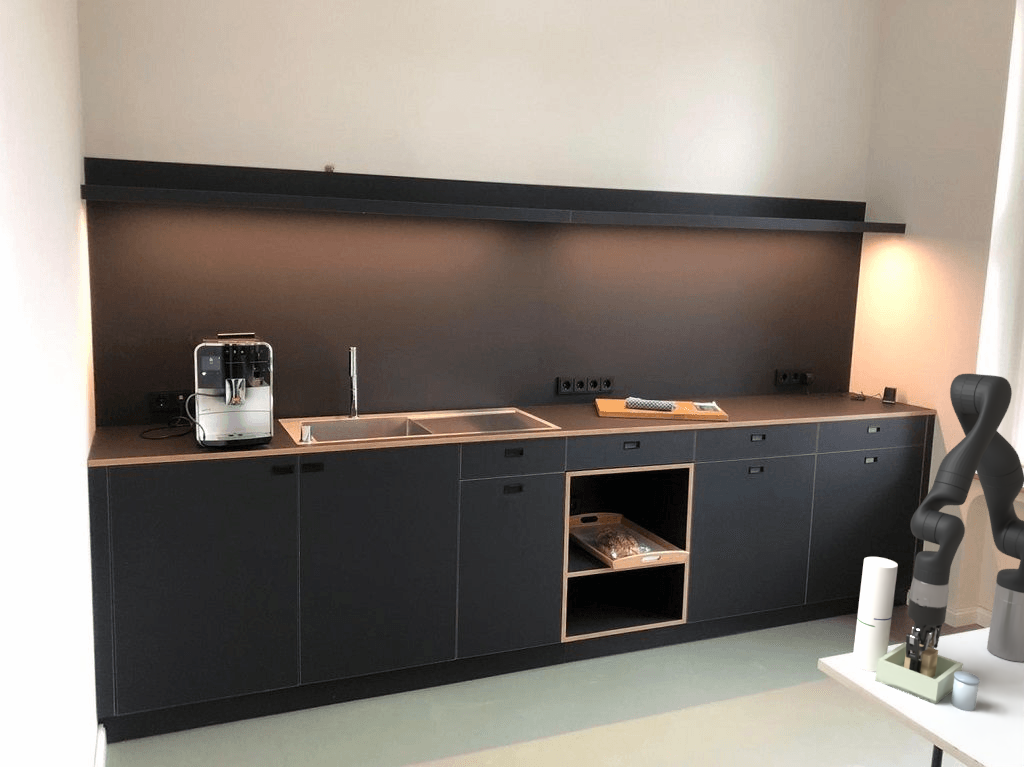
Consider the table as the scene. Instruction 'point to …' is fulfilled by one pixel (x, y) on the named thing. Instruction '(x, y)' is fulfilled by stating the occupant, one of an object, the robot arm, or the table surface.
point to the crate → (917, 676)
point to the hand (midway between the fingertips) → (919, 670)
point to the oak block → (926, 662)
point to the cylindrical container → (874, 612)
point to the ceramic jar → (965, 690)
